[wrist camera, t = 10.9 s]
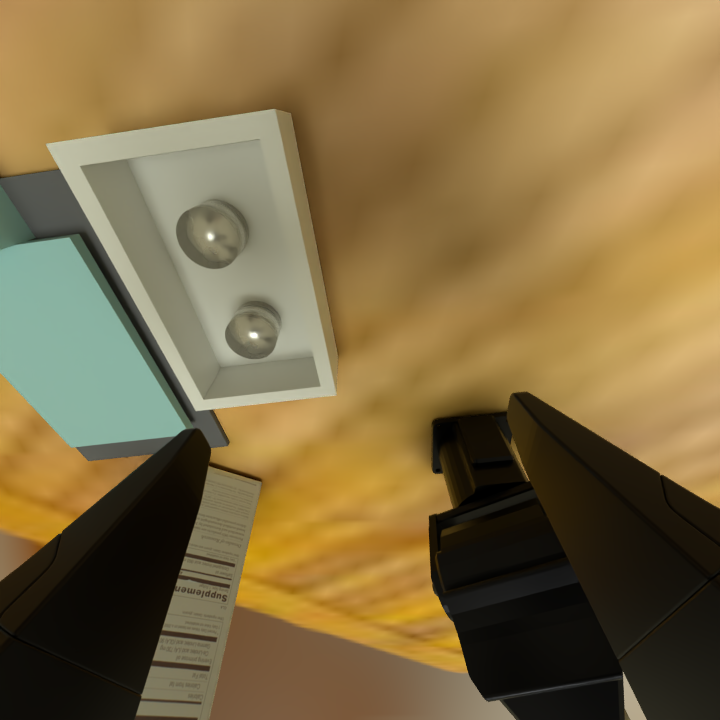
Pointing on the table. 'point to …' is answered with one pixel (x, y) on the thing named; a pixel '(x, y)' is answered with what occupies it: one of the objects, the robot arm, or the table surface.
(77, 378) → the lid
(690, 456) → the table surface
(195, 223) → the grey metal round knob
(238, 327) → the knob
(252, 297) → the tub
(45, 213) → the mat
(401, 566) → the table surface
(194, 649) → the supplement box
